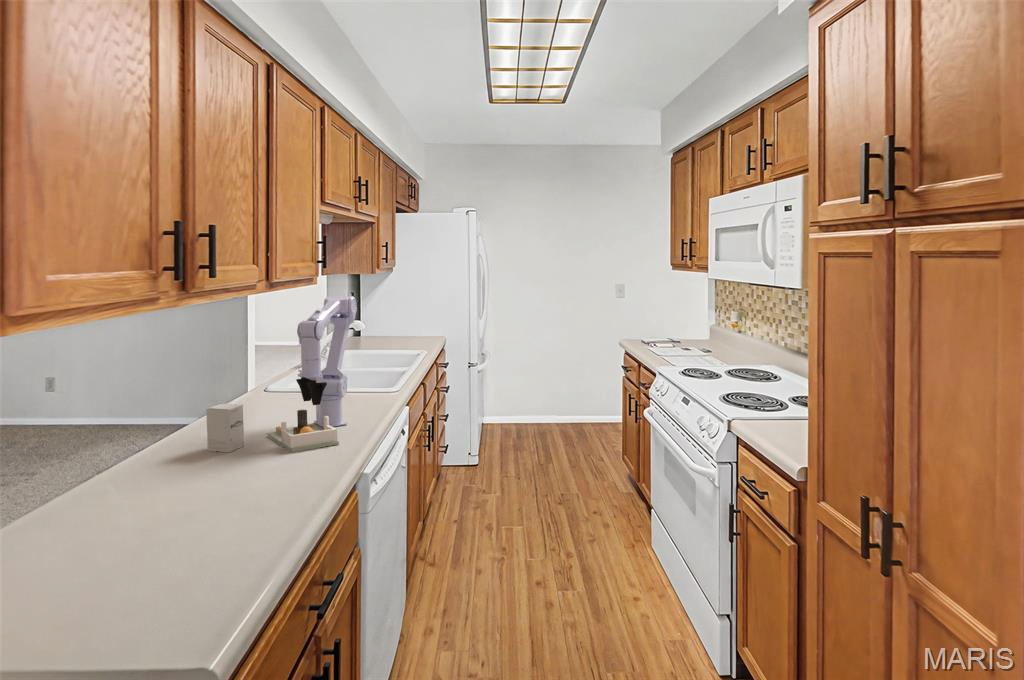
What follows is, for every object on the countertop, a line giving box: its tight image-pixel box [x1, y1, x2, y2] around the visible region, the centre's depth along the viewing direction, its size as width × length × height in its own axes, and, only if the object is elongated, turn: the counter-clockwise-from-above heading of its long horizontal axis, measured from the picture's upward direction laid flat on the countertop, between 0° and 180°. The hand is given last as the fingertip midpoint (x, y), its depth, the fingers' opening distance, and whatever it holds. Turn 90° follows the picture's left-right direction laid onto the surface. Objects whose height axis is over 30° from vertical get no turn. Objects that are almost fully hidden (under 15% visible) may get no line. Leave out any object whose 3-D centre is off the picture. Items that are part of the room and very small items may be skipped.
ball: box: [300, 426, 313, 434], centre depth 205 cm, size 4×4×4 cm
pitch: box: [267, 416, 340, 453], centre depth 207 cm, size 22×14×7 cm, turn 37°
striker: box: [293, 409, 313, 435], centre depth 207 cm, size 3×5×8 cm, turn 127°
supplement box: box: [205, 403, 245, 453], centre depth 198 cm, size 7×7×13 cm
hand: (311, 402), depth 212 cm, fingers open, 7 cm apart
